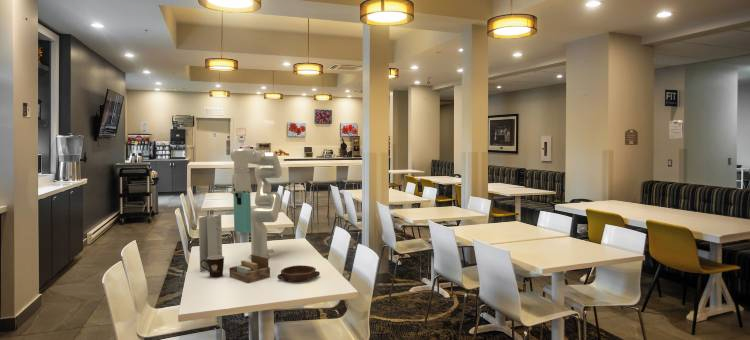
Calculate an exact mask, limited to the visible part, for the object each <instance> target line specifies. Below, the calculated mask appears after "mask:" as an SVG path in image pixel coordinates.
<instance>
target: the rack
mask: <svg viewBox="0 0 750 340" xmlns="http://www.w3.org/2000/svg"><path fill="white" fill-rule="evenodd" d="M250 255H251V259H250V262H253V263H256V264H258V270H255V271H251V272H247V273H246V275H243V274H239V273H237V266H241V264H240V265H235V266H232V267H231V266H230V267H229V270H228V271H229V278H231V279H235V280H237V281H240V282H243V283H246V284H248V283H253V282H256V281H260V280H264V279H267V278H270V277H271V267H270V266H269V258H267V257H263V256H259V255H255V254H250Z"/></svg>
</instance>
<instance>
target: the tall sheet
mask: <svg viewBox="0 0 750 340" xmlns="http://www.w3.org/2000/svg"><path fill="white" fill-rule="evenodd" d="M235 193H236V192H235ZM232 196H233V225H234V226H233V229H234V230H233V231H234V232H238V233H242V234H247V235H248V234H251V208H252V205H251V202H252V201H251V193H244V192H240V198H241V205H238V204H237V197H236V196H235V195H234V194H232Z"/></svg>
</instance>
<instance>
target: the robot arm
mask: <svg viewBox="0 0 750 340" xmlns="http://www.w3.org/2000/svg"><path fill="white" fill-rule="evenodd" d="M229 156H230V158H231V161H232V162H233V170H234V171H233V173H232V177H231V187H230V188H231V189H230V190H231V191H230V194H232V195H233V194H234V195H235V196H236V197H237V204H238V205H241V198H240V192H244V193H250V194H251V193H252V192H253V189H252V181H251V180H252V179H251V176H250V175H251V174H250V173H249V172H250V171H251V169H250V168H249V165H256V166H255V168H254V175H255V180H256V183H257V188H256V193H255V197H254V204H255V206H253V207H251V233H250V240H251V241H250V244H251V246H250V248H251V254H255V255H259V256H263V257H267V258H268V259H269V258H270V257H271V255H270V253H274V249H273V248H272V249H268V228H267V226H266V225H265V223H276V222H277V220H278V219H279V215H280V214H279V213H280V208H281V201H282V198H281V195H280V192H278V191H272V184H270V182H269V181H268V180H267V179H279V178H280V177H281V176H282V173H283V171H282V167H281V164H280V159H279V157H278V155H277V153H276V152H274V151H260V150H256V149H253V148H243V147H242V148H241V147H240V148H239V147H237V148H233V149H231V150H230V155H229ZM235 192H236V193H235ZM251 254H250V255H249V256H248V258H249V259H250V260H251Z"/></svg>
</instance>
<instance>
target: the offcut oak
mask: <svg viewBox="0 0 750 340" xmlns="http://www.w3.org/2000/svg"><path fill="white" fill-rule="evenodd" d="M240 265H241V266H244V267H247V268H250V269H251V271H255V270H258V264H256V263H253V262H251V261H248V260H244V259H243V260H241V261H240Z"/></svg>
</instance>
